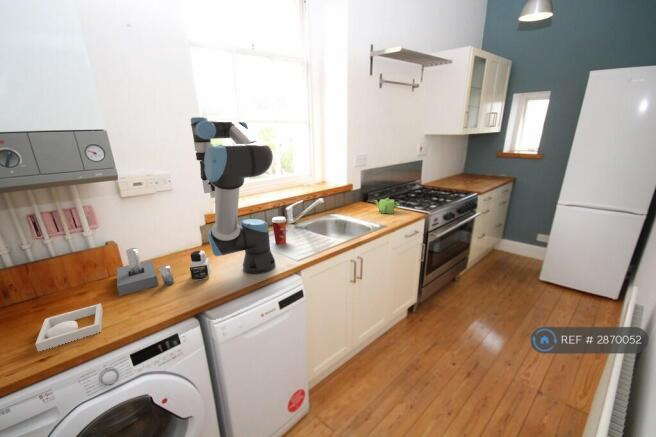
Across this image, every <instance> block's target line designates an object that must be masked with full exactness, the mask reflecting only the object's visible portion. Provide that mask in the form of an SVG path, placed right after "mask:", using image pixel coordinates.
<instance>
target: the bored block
mask: <svg viewBox="0 0 656 437" xmlns="http://www.w3.org/2000/svg"><path fill="white" fill-rule="evenodd" d="M140 265H141V269H142V273H141V274H137V275H133V276H132V274H131V270H130V266H129V265H126V266H121V267H117V268H116V286H117V292H118V295H119V296H120V297H121V296H124V295H128V294H132V293H135V292H139V291H143V290H146V289H150V288H155V287H157V286H159V281H158V277H157V273H156V269H155V266H154V262H153V259H151V260H148V261H144V262H143V261H142V262H140Z"/></svg>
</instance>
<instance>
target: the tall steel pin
mask: <svg viewBox="0 0 656 437" xmlns="http://www.w3.org/2000/svg"><path fill="white" fill-rule="evenodd" d="M125 254H126V257H127V260H128V266H130V270H131V274H132V276H133V275H137V274H141V273H142V269H141V265H140V263H141V261H140V256H139V251H138V249H137V248H136V247H131V248H128V249H126V250H125Z"/></svg>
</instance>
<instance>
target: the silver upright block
mask: <svg viewBox="0 0 656 437" xmlns="http://www.w3.org/2000/svg"><path fill="white" fill-rule="evenodd" d="M159 272H160V275H161V278H162V282H163V286H166V287H167V286H171V285H173V284H174V283H175V279H174V276H173V273H172V269H171V266H170V265H169V264H163V265H162V266H160V267H159Z"/></svg>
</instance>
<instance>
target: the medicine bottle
mask: <svg viewBox="0 0 656 437" xmlns="http://www.w3.org/2000/svg"><path fill="white" fill-rule="evenodd" d="M189 255H190V260H191V262H190V264H189V265H190V266H189V271H190V278H191V281H192V282H196V281H203V280H210V276H211V265H210V259H209V258H208V257H207V256H206V252H205V251H204V250H196V251H193V252H191V253H190V254H189Z"/></svg>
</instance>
